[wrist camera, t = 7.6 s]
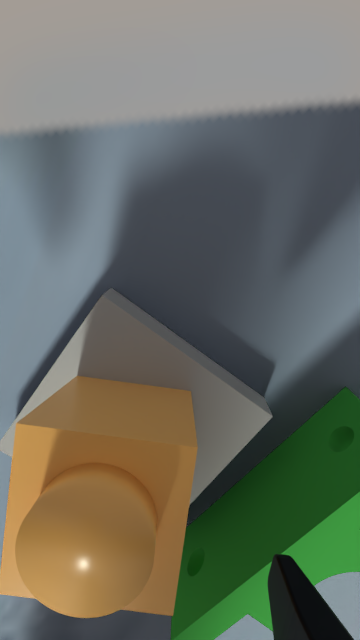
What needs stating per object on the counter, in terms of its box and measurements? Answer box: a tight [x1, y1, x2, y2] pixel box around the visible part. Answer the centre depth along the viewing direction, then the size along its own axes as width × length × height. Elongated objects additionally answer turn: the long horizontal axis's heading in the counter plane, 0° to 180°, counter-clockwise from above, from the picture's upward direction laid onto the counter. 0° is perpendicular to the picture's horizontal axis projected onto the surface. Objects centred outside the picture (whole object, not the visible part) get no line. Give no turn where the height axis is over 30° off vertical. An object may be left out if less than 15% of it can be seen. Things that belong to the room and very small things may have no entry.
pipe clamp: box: [171, 387, 360, 640], centre depth 14 cm, size 11×4×5 cm, turn 139°
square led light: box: [0, 376, 198, 618], centre depth 10 cm, size 4×4×6 cm
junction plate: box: [0, 288, 273, 505], centre depth 13 cm, size 9×8×5 cm
